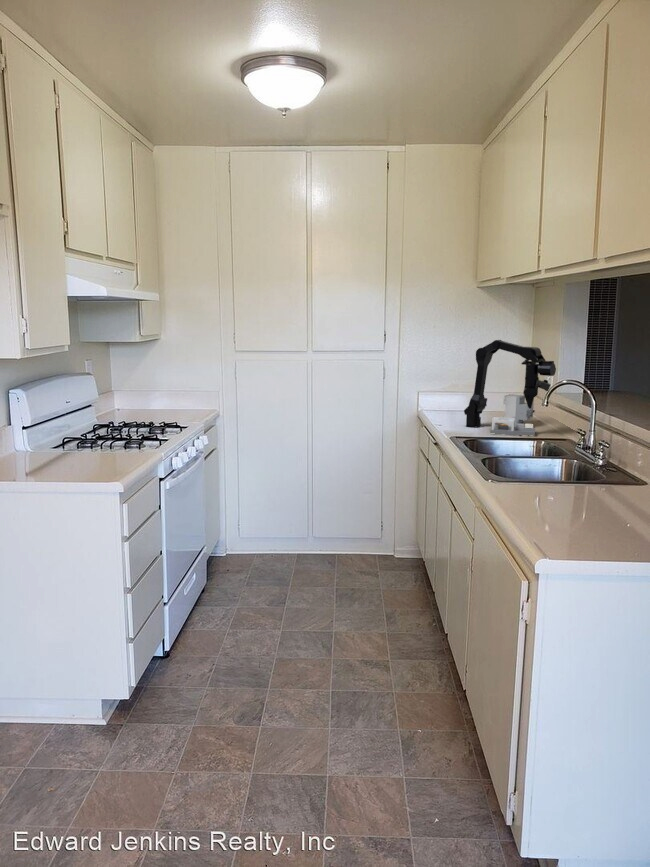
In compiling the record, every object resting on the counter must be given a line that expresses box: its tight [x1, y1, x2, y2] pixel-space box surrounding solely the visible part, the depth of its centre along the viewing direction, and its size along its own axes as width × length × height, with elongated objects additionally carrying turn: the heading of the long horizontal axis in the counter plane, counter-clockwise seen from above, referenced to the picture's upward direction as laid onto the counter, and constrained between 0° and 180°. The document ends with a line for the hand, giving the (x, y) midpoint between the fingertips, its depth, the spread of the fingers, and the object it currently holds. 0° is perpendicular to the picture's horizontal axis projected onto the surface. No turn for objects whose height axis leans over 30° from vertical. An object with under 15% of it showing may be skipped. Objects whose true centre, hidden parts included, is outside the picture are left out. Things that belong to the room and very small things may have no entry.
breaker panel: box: [489, 416, 536, 437], centre depth 309 cm, size 20×12×6 cm, turn 72°
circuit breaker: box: [502, 393, 536, 427], centre depth 328 cm, size 8×14×15 cm, turn 53°
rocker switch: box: [524, 423, 534, 428], centre depth 307 cm, size 4×4×1 cm
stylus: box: [526, 398, 535, 417], centre depth 305 cm, size 3×3×10 cm
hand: (529, 407), depth 305 cm, fingers closed on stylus, 3 cm apart
